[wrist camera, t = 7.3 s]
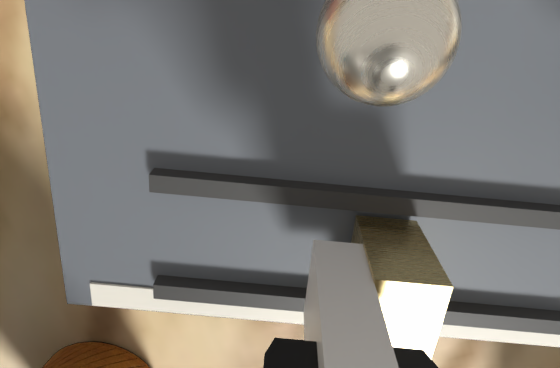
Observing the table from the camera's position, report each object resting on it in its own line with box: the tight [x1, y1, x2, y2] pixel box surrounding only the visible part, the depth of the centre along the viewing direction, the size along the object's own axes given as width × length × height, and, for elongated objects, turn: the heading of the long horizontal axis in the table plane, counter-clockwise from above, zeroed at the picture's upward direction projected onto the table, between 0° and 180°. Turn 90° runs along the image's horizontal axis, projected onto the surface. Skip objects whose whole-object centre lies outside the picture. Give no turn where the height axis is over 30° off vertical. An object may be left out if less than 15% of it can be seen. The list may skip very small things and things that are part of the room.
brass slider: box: [351, 215, 453, 359], centre depth 13 cm, size 2×3×4 cm, turn 175°
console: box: [24, 0, 560, 347], centre depth 15 cm, size 20×16×5 cm
